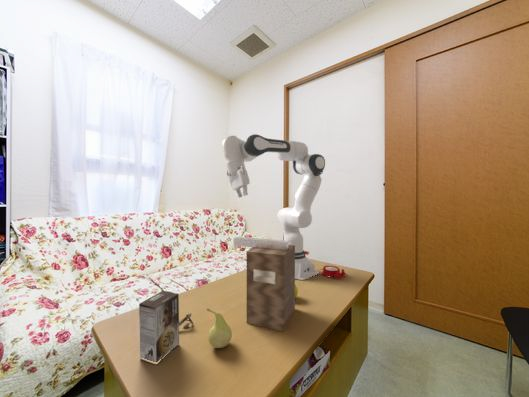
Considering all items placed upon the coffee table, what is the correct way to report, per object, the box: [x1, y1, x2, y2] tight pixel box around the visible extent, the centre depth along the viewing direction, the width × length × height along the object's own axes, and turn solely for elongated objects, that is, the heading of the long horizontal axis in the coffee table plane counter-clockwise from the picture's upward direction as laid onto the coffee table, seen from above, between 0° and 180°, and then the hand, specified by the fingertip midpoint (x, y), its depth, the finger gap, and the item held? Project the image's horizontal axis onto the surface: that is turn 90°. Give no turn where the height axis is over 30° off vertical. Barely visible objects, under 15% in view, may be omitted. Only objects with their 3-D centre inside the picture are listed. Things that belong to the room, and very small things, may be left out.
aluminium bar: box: [233, 236, 289, 250], centre depth 86 cm, size 22×3×3 cm, turn 69°
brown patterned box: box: [246, 245, 296, 332], centre depth 84 cm, size 14×17×26 cm
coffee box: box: [138, 290, 180, 362], centre depth 64 cm, size 9×6×16 cm
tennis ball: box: [295, 284, 299, 299], centre depth 98 cm, size 7×7×7 cm
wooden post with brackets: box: [179, 312, 194, 329], centre depth 76 cm, size 2×8×4 cm, turn 128°
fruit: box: [206, 308, 233, 349], centre depth 67 cm, size 7×8×12 cm
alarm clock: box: [321, 265, 348, 279], centre depth 126 cm, size 10×6×15 cm
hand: (243, 196), depth 108 cm, fingers open, 8 cm apart
